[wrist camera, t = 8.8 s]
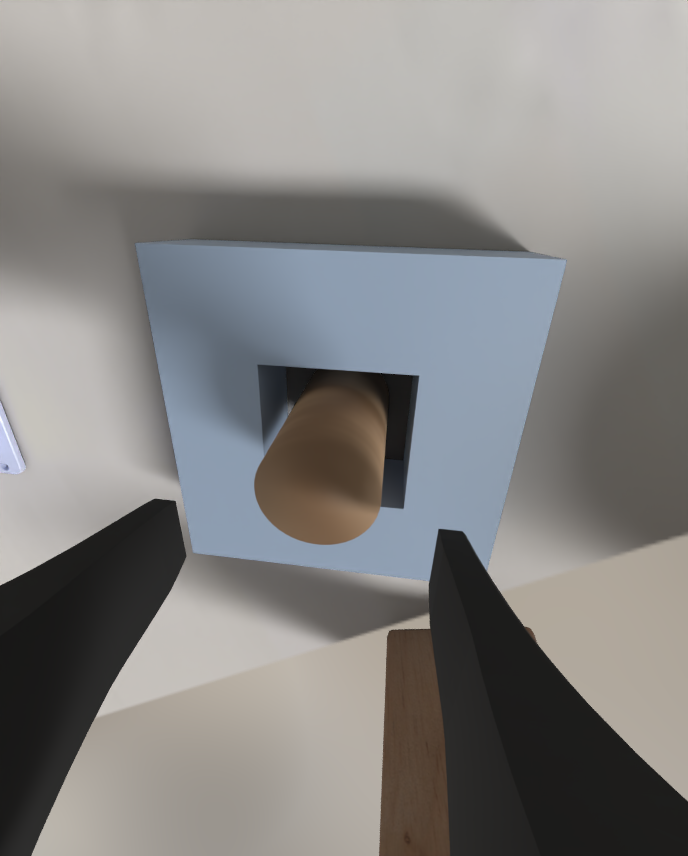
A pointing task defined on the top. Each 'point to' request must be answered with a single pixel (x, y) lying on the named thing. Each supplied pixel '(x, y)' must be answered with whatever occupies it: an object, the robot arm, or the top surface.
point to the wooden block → (413, 751)
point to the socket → (352, 351)
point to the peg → (328, 459)
